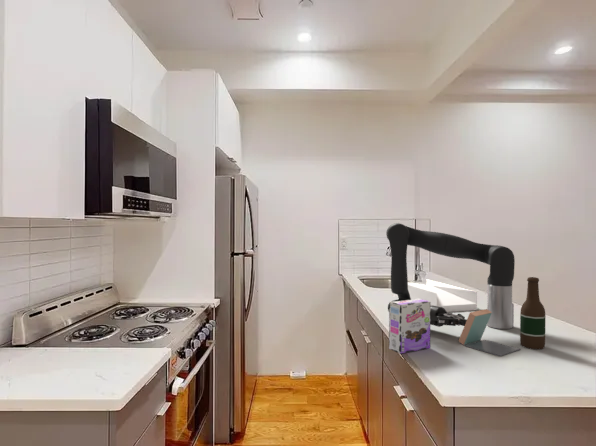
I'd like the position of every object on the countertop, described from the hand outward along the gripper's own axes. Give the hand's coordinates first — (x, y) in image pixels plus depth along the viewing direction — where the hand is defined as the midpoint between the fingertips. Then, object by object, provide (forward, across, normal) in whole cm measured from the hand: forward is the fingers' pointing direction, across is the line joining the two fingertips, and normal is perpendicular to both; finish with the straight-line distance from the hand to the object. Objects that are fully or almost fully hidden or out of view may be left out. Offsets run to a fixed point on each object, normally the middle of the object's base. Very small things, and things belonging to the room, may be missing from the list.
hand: (470, 324), depth 152 cm
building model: (-55, +47, +7) cm, 73 cm away
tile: (0, 0, +6) cm, 6 cm away
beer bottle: (+15, +14, +7) cm, 21 cm away
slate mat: (+8, 0, +6) cm, 10 cm away
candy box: (-7, -24, +7) cm, 26 cm away
